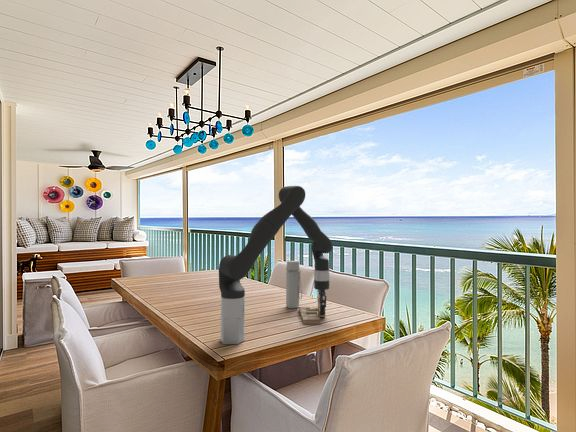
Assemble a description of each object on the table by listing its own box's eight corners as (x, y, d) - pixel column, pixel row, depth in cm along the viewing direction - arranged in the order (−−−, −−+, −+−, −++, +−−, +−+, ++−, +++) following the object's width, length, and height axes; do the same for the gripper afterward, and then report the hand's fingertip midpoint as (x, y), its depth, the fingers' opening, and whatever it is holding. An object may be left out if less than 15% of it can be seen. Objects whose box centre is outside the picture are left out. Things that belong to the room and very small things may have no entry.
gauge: (325, 316, 159) (325, 304, 159) (306, 316, 158) (306, 304, 158) (323, 313, 164) (323, 301, 164) (305, 314, 163) (305, 302, 163)
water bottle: (283, 307, 176) (283, 261, 177) (290, 304, 183) (290, 260, 184) (298, 310, 172) (298, 262, 172) (304, 306, 179) (305, 261, 179)
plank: (320, 324, 149) (320, 319, 149) (303, 324, 149) (303, 319, 149) (314, 310, 171) (314, 306, 171) (298, 310, 171) (299, 306, 171)
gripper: (331, 281, 154) (331, 317, 154) (326, 276, 169) (326, 309, 168) (316, 281, 154) (316, 318, 154) (312, 276, 168) (312, 309, 168)
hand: (321, 313), depth 161 cm, fingers closed on gauge, 5 cm apart
